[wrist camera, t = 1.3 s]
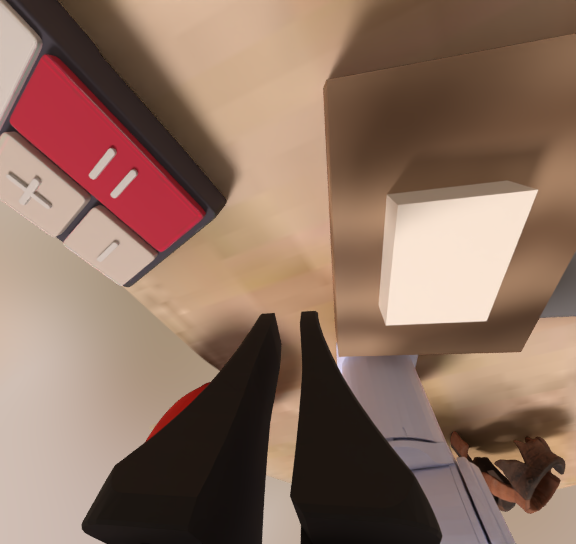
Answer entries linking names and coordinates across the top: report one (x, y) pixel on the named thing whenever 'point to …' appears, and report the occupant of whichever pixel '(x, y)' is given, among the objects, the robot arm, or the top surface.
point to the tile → (449, 251)
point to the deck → (452, 181)
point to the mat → (563, 294)
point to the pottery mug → (519, 474)
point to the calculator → (90, 150)
